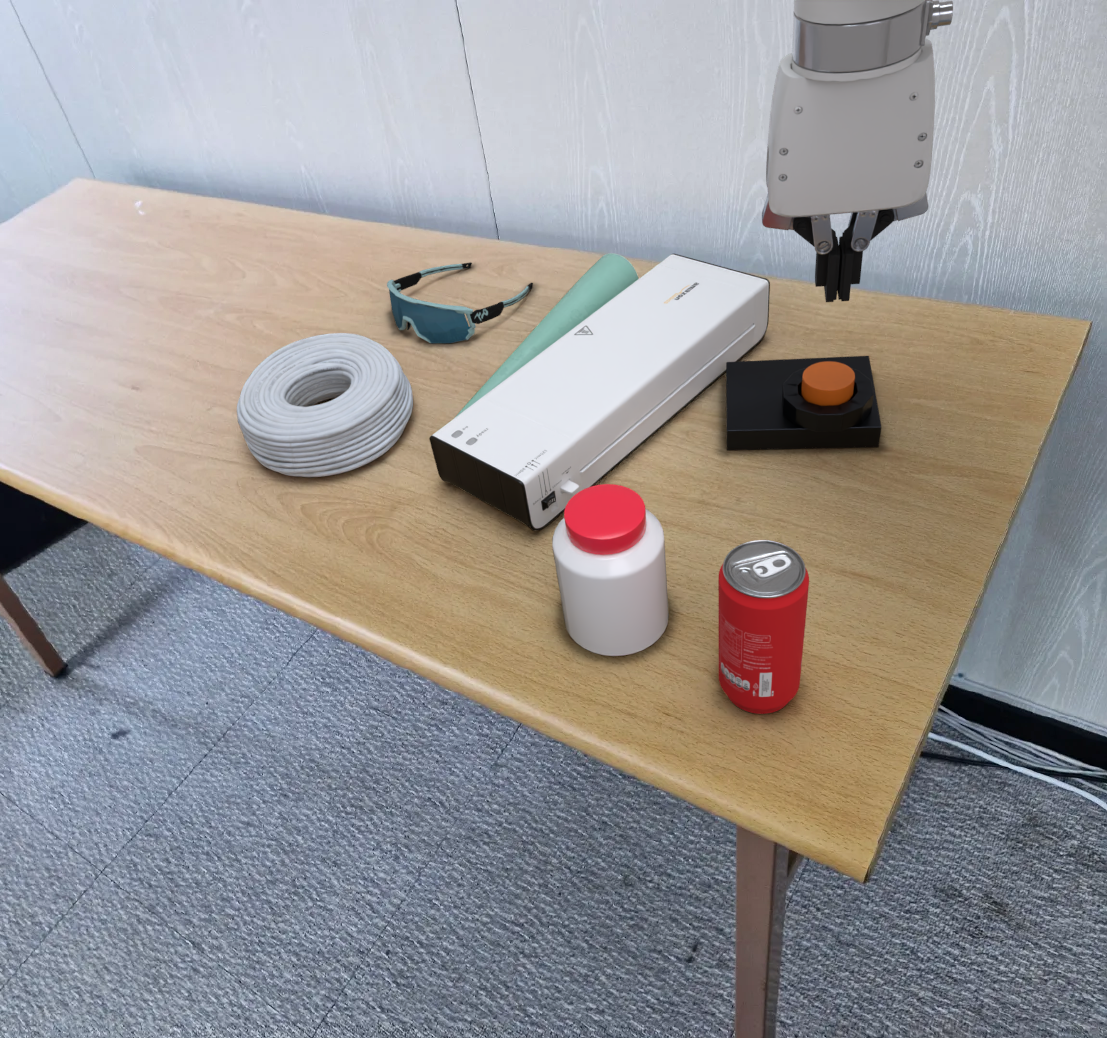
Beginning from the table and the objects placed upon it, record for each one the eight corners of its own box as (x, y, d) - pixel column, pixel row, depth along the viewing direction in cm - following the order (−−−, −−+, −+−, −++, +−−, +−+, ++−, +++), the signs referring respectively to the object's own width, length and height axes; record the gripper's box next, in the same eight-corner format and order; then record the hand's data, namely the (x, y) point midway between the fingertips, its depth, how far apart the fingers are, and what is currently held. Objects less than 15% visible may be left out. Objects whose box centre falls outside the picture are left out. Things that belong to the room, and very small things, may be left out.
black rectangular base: (866, 375, 88) (871, 338, 85) (879, 451, 80) (884, 412, 78) (726, 381, 91) (726, 345, 88) (726, 453, 84) (726, 417, 81)
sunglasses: (368, 322, 112) (361, 282, 109) (461, 276, 119) (457, 237, 116) (452, 358, 103) (447, 315, 100) (547, 306, 110) (546, 264, 107)
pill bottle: (689, 628, 71) (685, 520, 64) (596, 672, 70) (581, 568, 63) (634, 564, 77) (624, 458, 70) (546, 604, 76) (528, 500, 69)
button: (850, 377, 82) (852, 359, 81) (855, 406, 80) (857, 389, 78) (800, 379, 83) (801, 362, 82) (802, 407, 81) (803, 391, 80)
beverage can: (704, 674, 68) (702, 555, 60) (771, 647, 69) (778, 526, 61) (744, 730, 64) (748, 611, 56) (815, 702, 65) (828, 580, 57)
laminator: (672, 305, 102) (670, 252, 98) (778, 338, 94) (781, 282, 90) (441, 488, 89) (427, 435, 84) (542, 544, 81) (532, 489, 77)
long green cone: (419, 383, 92) (595, 248, 103) (431, 428, 95) (599, 293, 106) (461, 400, 88) (638, 258, 99) (471, 447, 92) (641, 305, 103)
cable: (309, 366, 108) (293, 319, 104) (447, 385, 100) (435, 336, 96) (217, 467, 98) (196, 420, 94) (362, 498, 90) (346, 447, 86)
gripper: (981, -5, 61) (940, 258, 73) (730, 31, 66) (730, 273, 78) (1004, 37, 56) (956, 313, 68) (730, 74, 61) (730, 326, 73)
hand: (836, 291), depth 73 cm, fingers closed
